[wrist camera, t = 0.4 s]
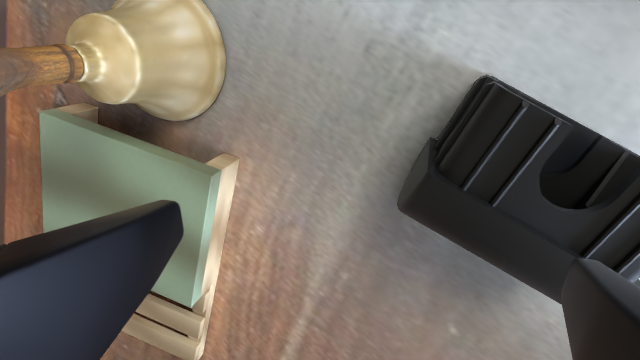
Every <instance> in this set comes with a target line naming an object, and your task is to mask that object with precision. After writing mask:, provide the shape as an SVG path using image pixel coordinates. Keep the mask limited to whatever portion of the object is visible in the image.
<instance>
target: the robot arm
mask: <svg viewBox="0 0 640 360" xmlns="http://www.w3.org/2000/svg"><path fill="white" fill-rule="evenodd" d="M183 234H184V227H183V221H182V215H181V209H180V205H179V204H178V203H177V202H176V201H171V200H158V201H155V202H151V203H148V204H144V205H141V206H137V207H133V208H130V209H126V210H123V211H119V212H116V213H112V214H109V215H105V216H102V217H98V218H95V219H91V220H88V221H84V222H81V223H77V224H74V225H70V226H67V227H63V228H60V229H56V230H53V231H49V232H46V233H42V234H39V235H35V236H32V237H28V238H25V239H21V240H18V241H14V242H11V243H9V244H8V245H6V244H3V245H0V360H100V358H101V357H102V356H103V354H104V353H105V352H106V350H107V349H108V348H109V346H110V345H111V344H112V342H113V341H114V339H115V338H116V337H117V335H118V334H119V333H120V331H121V330H122V329H123V327H124V326H125V325H126V323H127V322H128V321H129V319H130V318H131V317H132V315H133V314H134V312H135V311H136V310H137V308H138V307H139V306H140V304H141V303H142V302H143V300H144V299H145V298H146V296H147V295H148V294H149V292H150V291H151V289H152V288H153V286H154V285H155V283H156V282H157V280H158V279H159V277H160V275H161V274H162V272H163V270H164V268H165V267H166V265H167V263H168V262H169V260H170V258H171V257H172V255H173V253H174V252H175V250H176V248H177V247H178V245H179V243H180V242H181V240H182V237H183ZM561 301H562V307H563V312H564V317H565V322H566V327H567V332H568V337H569V343H570V348H571V353H572V358H573V360H640V287H638V286H637V285H635V284H634V283H632V282H630V281H629V280H627V279H626V278H624V277H623V276H621V275H620V274H618V273H616V272H615V271H613V270H612V269H610V268H609V267H607V266H606V265H604V264H602V263H601V262H599V261H596V260H590V259H583V258H576V259H574V260H573V261H572V262H571V265H570V267H569V270H568V273H567V276H566V279H565V282H564V285H563V288H562V293H561Z"/></svg>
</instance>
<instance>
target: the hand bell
mask: <svg viewBox="0 0 640 360" xmlns="http://www.w3.org/2000/svg"><path fill="white" fill-rule="evenodd" d="M225 71H226V54H225V47H224V43H223V39H222V36H221V32H220V29H219V27H218V25H217V22H216V21H215V18H214V17H213V16H212V14H211V12H210V10H209V9H208V8H207V6H206V5H205V4H204V3H203V2H202V1H201V0H116V1H115V3H114V4H113V6H112V8H111V10H109V11H104V12H96V13H89V14H86V15H83V16H81V17H80V18H78V19H77V20H76V21H75V22H74V23H73V24H72V26H71V27H70V29H69V31H68V34H67V37H66V42H65V44H55V45H52V46H51V45H49V46H36V47H23V48H6V47H0V96H2V95H4V94H6V93H8V92H10V91H13V90H15V89H19V88H23V87H28V86H36V85H48V84H59V83H74V82H76V83H77V84H78V85H79V86H80V87H81V89H82V90H83V91H84V92H85V93H87V94H88V95H89V96H91V97H92V98H94V99H96V100H97V101H100V102H103V103H107V104H124V103H134V104H135V105H136V106H138V107H139V108H141V109H142V110H143V111H145V112H147V113H149V114H151V115H153V116H156V117H158V118H162V119H165V120H171V121H182V120H188V119H191V118H194V117H196V116H198V115H200V114H202V113H203V112H204V111H206V110H207V109H208V108H209V107H210V106H211V105H212V104H213V102H214V101H215V99H216V98H217V96H218V94H219V92H220V90H221V88H222V85H223V81H224V77H225Z"/></svg>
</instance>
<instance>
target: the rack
mask: <svg viewBox="0 0 640 360" xmlns="http://www.w3.org/2000/svg"><path fill="white" fill-rule="evenodd" d="M39 126H40V153H41V181H42V208H43V233H46V232H49V231H53V230H56V229H60V228H63V227H67V226H70V225H74V224H77V223H81V222H84V221H88V220H91V219H95V218H98V217H102V216H105V215H109V214H112V213H116V212H119V211H123V210H126V209H130V208H133V207H137V206H141V205H144V204H148V203H151V202H155V201H158V200H171V201H176V202H177V203H178V204H179V205H180V209H181V215H182V221H183V227H184V234H183V237H182V240H181V242H180V243H179V245H178V247H177V248H176V250H175V252H174V253H173V255H172V257H171V258H170V260H169V262H168V263H167V265H166V267H165V268H164V270H163V272H162V274H161V275H160V277H159V279H158V280H157V282H156V283H155V285H154V286H153V288H152V289H151V291H153V292H155V293H157V294H159V295H162V296H164V297H166V298H169V299H171V300H173V301H175V302H178V303H180V304H182V305H185V306H187V307H189V308H192V312H190V311H188V310H186V309H183V308H181V307H179V306H177V305H174V304H172V303H170V302H167V301H165V300H163V299H161V298H158V297H156V296H154V295H151V294H148V295H147V296H146V298H145V299H144V300H143V302H142V303H141V304H140V306H139V307H138V308H137V310H136V311H135V312H137V313H140V314H142V315H144V316H146V317H149V318H151V319H153V320H155V321H157V322H160V323H162V324H164V325H166V326H169V327H171V328H173V329H175V330H178V331H180V332H182V333H184V334H186V335H188V338H187V337H185V336H183V335H181V334H179V333H176V332H174V331H172V330H170V329H167V328H165V327H163V326H161V325H159V324H156V323H154V322H152V321H150V320H147V319H145V318H143V317H141V316H139V315H136V314H133V315H132V317H131V318H130V319H129V321H128V322H127V323H126V325H125V326H124V327H123V329H122V330H121V331H122V332H125V333H127V334H129V335H131V336H133V337H136V338H138V339H140V340H142V341H144V342H146V343H149V344H151V345H153V346H155V347H157V348H159V349H162V350H164V351H166V352H168V353H170V354H172V355H175V356H177V357H179V358H181V359H183V360H199V359H200V358H201V356H202V355H203V351H204V346H205V340H206V335H207V330H208V324H209V319H210V314H211V308H212V303H213V298H214V292H215V287H216V282H217V277H218V272H219V266H220V261H221V256H222V250H223V245H224V240H225V234H226V229H227V224H228V218H229V213H230V208H231V202H232V197H233V192H234V186H235V181H236V176H237V170H238V165H239V158H236V157H233V156H230V155H228V154H225V153H223V154H221V155H219V156H217V157H216V158H214V159H212V160H210V161H208V162H207V163H205V164H204V163H202V162H199V161H196V160H193V159H191V158H188V157H185V156H183V155H180V154H177V153H175V152H172V151H169V150H166V149H164V148H161V147H158V146H156V145H153V144H150V143H148V142H145V141H142V140H139V139H137V138H134V137H131V136H129V135H126V134H123V133H121V132H118V131H115V130H113V129H110V128H107V127H104V126H102V125H99V124H98V107H95V106H92V105H90V104H87V103H79V104H74V105H69V106H64V107H59V108H54V109H49V110H44V111H40V112H39Z"/></svg>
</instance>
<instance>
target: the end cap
mask: <svg viewBox="0 0 640 360" xmlns="http://www.w3.org/2000/svg"><path fill="white" fill-rule="evenodd" d="M397 205H398V209H399V210H400V211H401V212H402V213H404V214H406V215H408V216H409V217H411V218H413V219H414V220H416V221H418V222H420V223H421V224H423V225H425V226H427V227H428V228H430V229H432V230H434V231H435V232H437V233H439V234H440V235H442V236H444V237H446V238H447V239H449V240H451V241H453V242H454V243H456V244H458V245H459V246H461V247H463V248H465V249H466V250H468V251H470V252H472V253H473V254H475V255H477V256H479V257H480V258H482V259H484V260H485V261H487V262H489V263H491V264H492V265H494V266H496V267H498V268H499V269H501V270H503V271H504V272H506V273H508V274H510V275H511V276H513V277H515V278H517V279H518V280H520V281H522V282H524V283H525V284H527V285H529V286H530V287H532V288H534V289H536V290H537V291H539V292H541V293H543V294H544V295H546V296H548V297H549V298H551V299H553V300H555V301H556V302H558V303H560V304H562V301H561V293H562V288H563V285H564V282H565V279H566V276H567V273H568V270H569V267H570V265H571V262H572V261H573V260H574V259H576V258H583V259H590V260H596V261H599V262H601V263H602V264H604V265H606V266H607V267H609V268H610V269H612V270H613V271H615V272H616V273H618V274H620V275H621V276H623V277H624V278H626V279H627V280H629V281H630V282H632V283H634V284H635V285H637V286H638V287H640V280H639V278H640V156H639V155H637V154H635V153H633V152H632V151H630V150H628V149H626V148H624V147H622V146H620V145H619V144H617V143H615V142H613V141H611V140H609V139H608V138H606V137H604V136H602V135H600V134H598V133H596V132H595V131H593V130H591V129H589V128H587V127H585V126H583V125H582V124H580V123H578V122H576V121H574V120H572V119H571V118H569V117H567V116H565V115H563V114H561V113H559V112H558V111H556V110H554V109H552V108H550V107H548V106H546V105H545V104H543V103H541V102H539V101H537V100H535V99H534V98H532V97H530V96H528V95H526V94H524V93H522V92H521V91H519V90H517V89H515V88H513V87H511V86H509V85H508V84H506V83H504V82H502V81H500V80H498V79H497V78H495V77H493V76H489V75H487V74H486V75H485V76H482V77H480V78H479V79H478V80H477V81H476V82H475V83H474V85H473V86H472V88H471V89H470V91H469V92H468V94H467V95H466V97H465V98H464V100H463V101H462V103H461V104H460V106H459V108H458V109H457V111H456V112H455V114H454V115H453V117H452V118H451V120H450V121H449V123H448V124H447V126H446V127H445V129H444V130H443V132H442V133H441V135H440V136H439V138H438V140H436V139H434V138H432V137H430V139H429V140H428V142H427V143H426V145H425V146H424V148H423V150H422V151H421V153H420V155H419V157H418V158H417V160H416V162H415V163H414V165H413V167H412V169H411V171H410V173H409V175H408V177H407V179H406V181H405V183H404V185H403V187H402V190H401V192H400V195H399V198H398V203H397Z"/></svg>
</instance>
